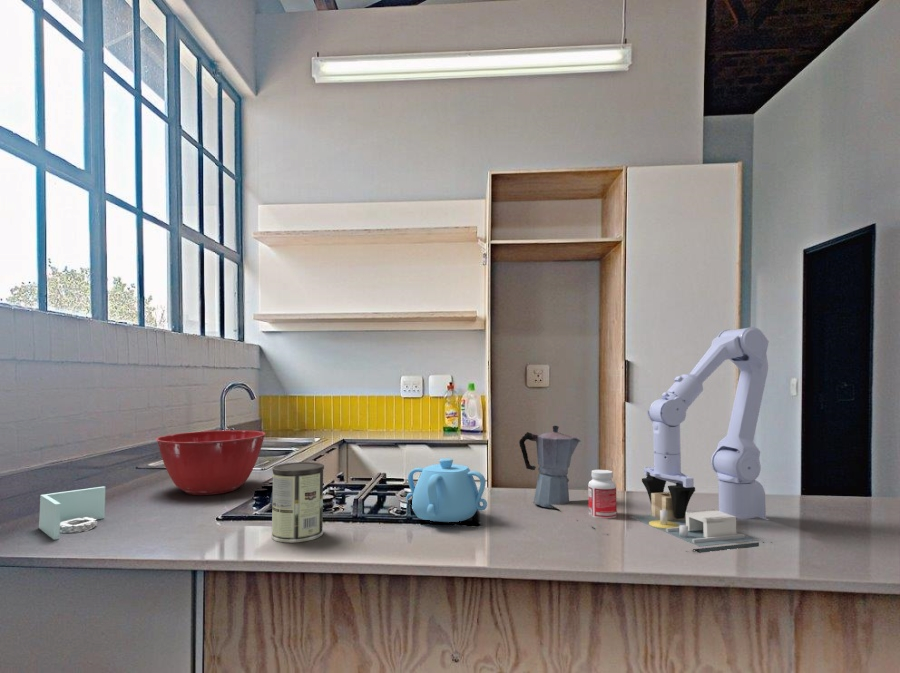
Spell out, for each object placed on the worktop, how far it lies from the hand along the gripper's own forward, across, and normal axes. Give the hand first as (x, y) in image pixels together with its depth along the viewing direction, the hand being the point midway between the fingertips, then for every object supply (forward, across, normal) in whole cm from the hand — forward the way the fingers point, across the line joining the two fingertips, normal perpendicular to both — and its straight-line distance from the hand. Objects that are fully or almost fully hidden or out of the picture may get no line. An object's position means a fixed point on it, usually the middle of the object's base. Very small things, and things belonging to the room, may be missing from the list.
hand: (667, 513), depth 125 cm
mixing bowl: (+2, -64, -102) cm, 120 cm away
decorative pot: (+2, -17, -47) cm, 50 cm away
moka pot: (+2, -22, -18) cm, 29 cm away
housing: (0, +13, 0) cm, 13 cm away
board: (+2, +8, -1) cm, 8 cm away
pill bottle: (+2, -6, -13) cm, 14 cm away
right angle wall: (+3, -31, -124) cm, 128 cm away
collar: (+1, 0, 0) cm, 1 cm away
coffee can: (+2, -13, -80) cm, 81 cm away
